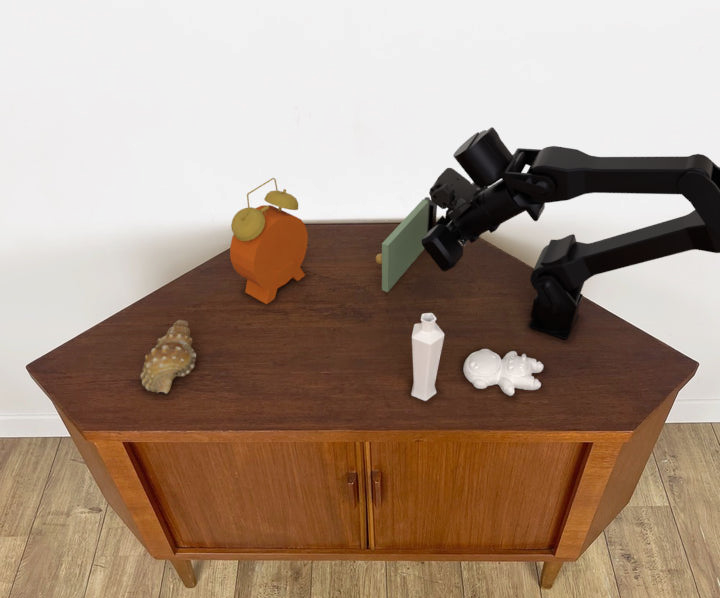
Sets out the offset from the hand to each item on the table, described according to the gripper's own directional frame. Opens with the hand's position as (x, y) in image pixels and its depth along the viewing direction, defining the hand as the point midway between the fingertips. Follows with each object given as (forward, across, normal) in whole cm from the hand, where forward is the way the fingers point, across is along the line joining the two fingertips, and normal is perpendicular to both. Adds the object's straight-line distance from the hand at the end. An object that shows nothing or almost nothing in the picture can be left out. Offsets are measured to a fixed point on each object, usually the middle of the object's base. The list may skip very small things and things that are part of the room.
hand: (426, 243), depth 113 cm
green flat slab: (+9, -1, +2) cm, 9 cm away
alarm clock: (+23, +13, -10) cm, 28 cm away
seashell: (+24, +38, -12) cm, 47 cm away
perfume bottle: (-2, +23, +14) cm, 27 cm away
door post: (+9, -11, +3) cm, 15 cm away
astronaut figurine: (-8, +14, +21) cm, 26 cm away
